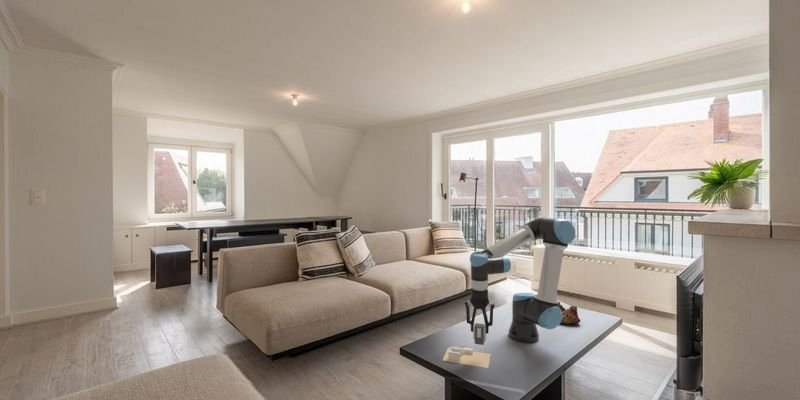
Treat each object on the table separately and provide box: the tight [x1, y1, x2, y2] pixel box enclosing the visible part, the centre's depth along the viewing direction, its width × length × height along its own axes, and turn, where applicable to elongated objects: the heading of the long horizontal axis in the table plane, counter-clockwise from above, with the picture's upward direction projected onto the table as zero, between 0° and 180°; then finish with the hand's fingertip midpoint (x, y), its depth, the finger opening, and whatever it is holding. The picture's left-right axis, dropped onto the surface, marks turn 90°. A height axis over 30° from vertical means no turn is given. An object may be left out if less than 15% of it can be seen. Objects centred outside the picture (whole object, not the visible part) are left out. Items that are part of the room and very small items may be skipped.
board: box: [442, 346, 492, 369], centre depth 159 cm, size 20×14×4 cm
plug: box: [474, 322, 486, 346], centre depth 157 cm, size 4×5×8 cm
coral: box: [558, 301, 581, 324], centre depth 210 cm, size 18×13×15 cm
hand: (479, 339), depth 158 cm, fingers closed on plug, 4 cm apart
